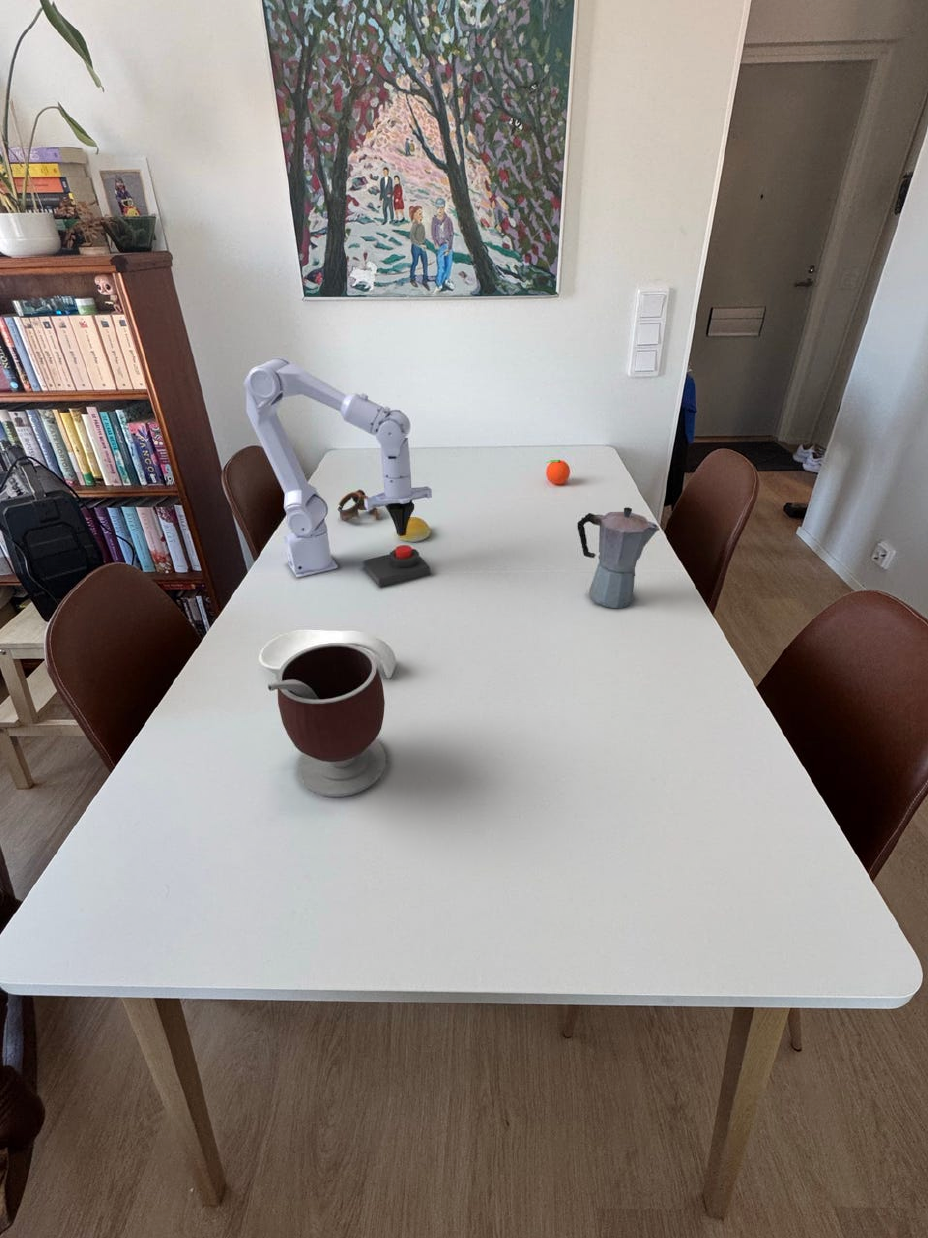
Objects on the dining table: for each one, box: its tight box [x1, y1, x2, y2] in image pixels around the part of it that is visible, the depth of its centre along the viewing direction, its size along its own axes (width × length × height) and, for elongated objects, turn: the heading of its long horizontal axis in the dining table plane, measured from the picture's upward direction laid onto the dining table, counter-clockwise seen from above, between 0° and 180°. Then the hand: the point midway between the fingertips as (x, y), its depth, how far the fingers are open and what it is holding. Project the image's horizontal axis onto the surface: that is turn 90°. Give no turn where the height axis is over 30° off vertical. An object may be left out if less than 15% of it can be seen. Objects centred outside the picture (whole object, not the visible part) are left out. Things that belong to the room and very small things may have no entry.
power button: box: [394, 544, 413, 559], centre depth 139 cm, size 4×4×2 cm
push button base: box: [362, 548, 431, 589], centre depth 139 cm, size 12×10×4 cm
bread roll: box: [397, 516, 432, 543], centre depth 155 cm, size 8×9×4 cm
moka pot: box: [576, 506, 660, 609], centre depth 124 cm, size 10×15×20 cm, turn 78°
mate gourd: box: [267, 643, 387, 798], centre depth 85 cm, size 16×14×20 cm
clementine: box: [545, 459, 571, 485], centre depth 183 cm, size 8×7×7 cm
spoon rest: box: [258, 629, 397, 679], centre depth 109 cm, size 24×12×7 cm, turn 83°
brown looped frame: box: [337, 489, 380, 521], centre depth 165 cm, size 12×10×8 cm
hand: (401, 533), depth 136 cm, fingers closed
